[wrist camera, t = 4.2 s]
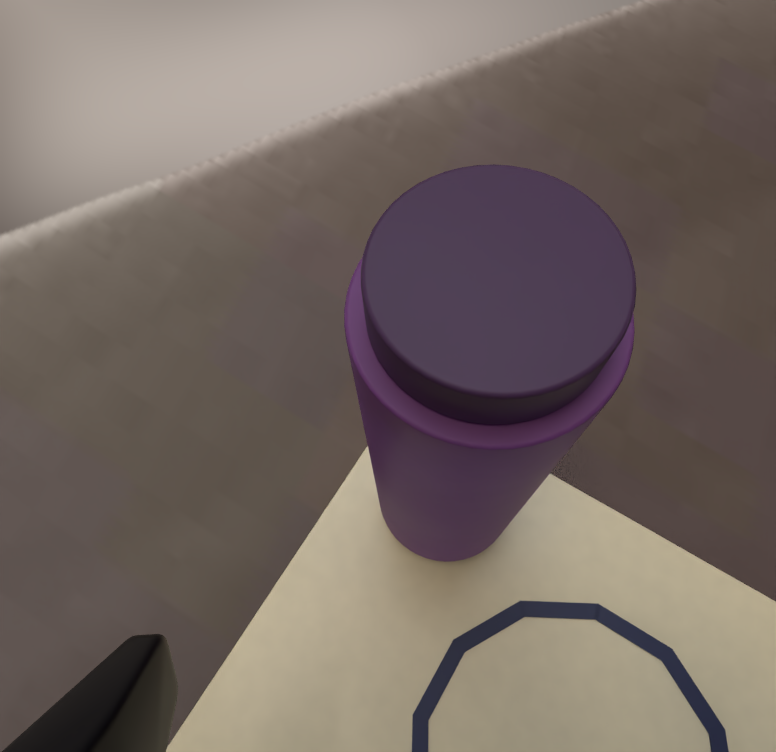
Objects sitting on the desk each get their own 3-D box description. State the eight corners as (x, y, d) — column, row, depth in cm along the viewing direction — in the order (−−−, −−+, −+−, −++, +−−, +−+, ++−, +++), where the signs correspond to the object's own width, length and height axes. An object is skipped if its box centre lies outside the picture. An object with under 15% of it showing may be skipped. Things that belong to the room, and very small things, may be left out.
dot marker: (530, 478, 20) (713, 223, 8) (468, 591, 18) (574, 490, 7) (421, 416, 21) (439, 105, 9) (355, 519, 19) (272, 317, 8)
